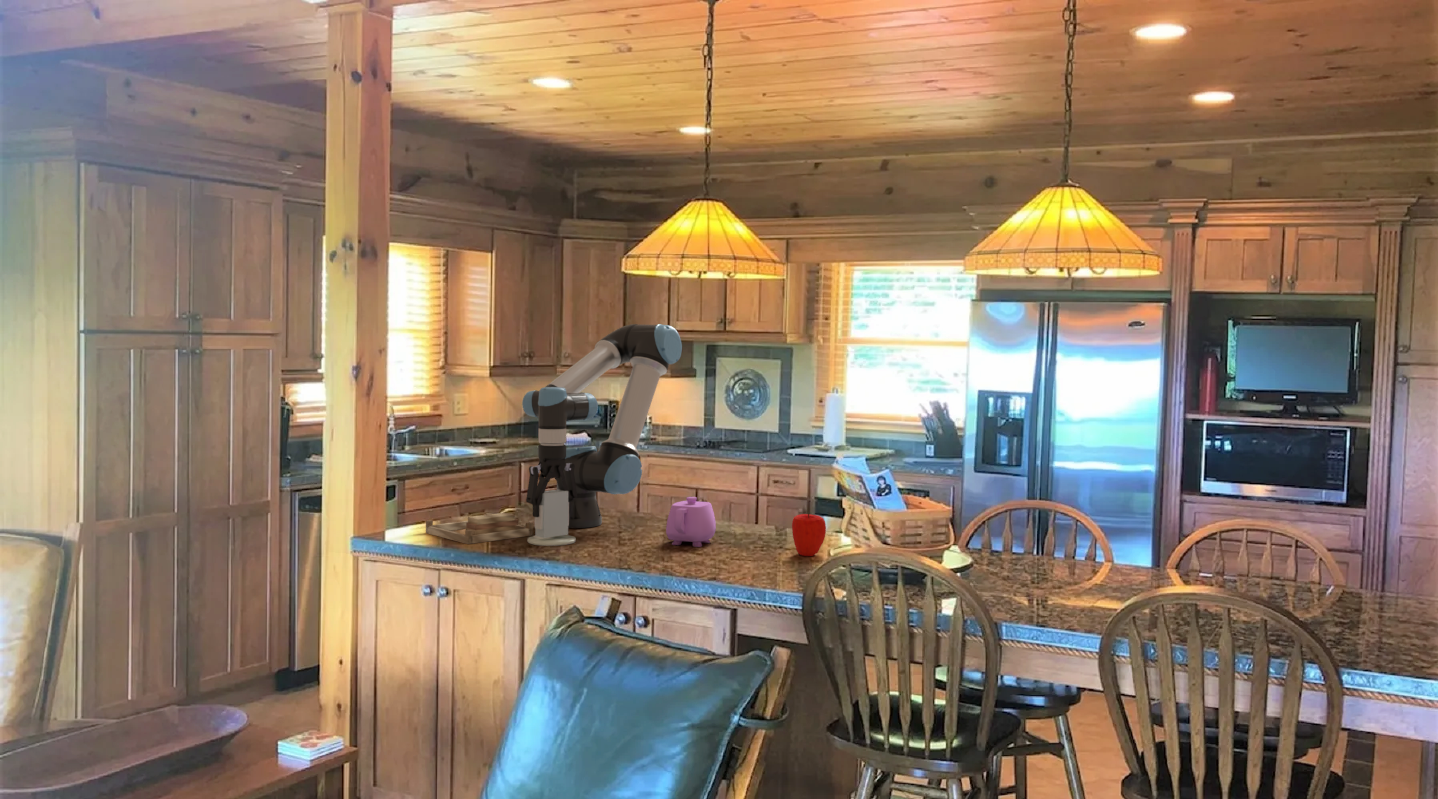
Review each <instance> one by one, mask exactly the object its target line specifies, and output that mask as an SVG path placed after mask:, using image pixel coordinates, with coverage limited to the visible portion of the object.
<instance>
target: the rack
mask: <svg viewBox="0 0 1438 799" xmlns="http://www.w3.org/2000/svg"><path fill="white" fill-rule="evenodd" d="M489 514H492V513H490V512H487V513H485V514H484V515H489ZM466 523H468V520H464V521H456V522H447V523H438V524H434V520H429V519H428V520H425V534H429V535H433V536H435V537H436V536H437V537H439V538H443V539H447V540H451V541H456V542H459V543H462V544H467V545H472V544H479V543H484V542H485V543H487V542H493V541H501V540H508V539H516V538H522V537H523V538H524V537H531V536H534V523H533V522H525V526H524V525H520V524H518V525H516V530H510V531H502V532H494V533H487V534H479V535H472V530H466ZM457 530H464V534H463V533H460V532H456V531H457Z"/></svg>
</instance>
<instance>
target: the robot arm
mask: <svg viewBox="0 0 1438 799" xmlns="http://www.w3.org/2000/svg"><path fill="white" fill-rule="evenodd" d="M682 350H683V344H682V340H681V336H680V333H679V332H678V331H677V329H676V328H674V327H673V326H671V325H669V324H661V323H658V324H636V323H633V324H632V323H631V324H627V325H624V326H621V327H619V328H617V329H615V330H613V331H612V332H609V333H608V334H607V335H605V336H604V337H602V338H601V339H600V340H599V341H597V342H596V343H595V345H594V349H592V350H591V351H590V352H589V353H587V354H585V355H584V356H583V357H582V358H581V359H579V360H578V361H577V362H576V363H574V364H573V365H571V366H570V367H569V368H568V369H566V370H565V371H564V372H562V373H561V374H560V375H559V376H557V377H555V379H553V380H552V381H551V382H550V383H548V384H547V385H545V387H541V388H540V389H539V390H535V389H534V390H529V391H528V392H526V393H525V394H524V396H523V398H522V402H521V403H522V404H521V407H522V408H523V412H524V414H526V415H527V416H529V417H533V418H538V443H539V445H538V448H537V450H538V451H537V455H538V456H537V457H538V460H539V461H538V464H537V465H535V466H531V465H530V466H529V467H528V472H529V477H528V485H527V493H526V499H525V501H526V503H527V504H530V505H532V517H534V529H535V530H536V529H540V530H541V529H543V505H540V503H541V501H542V498H543V493H544V492H545V491H546V489H547V486H548V483H549V482H550V481H551V479H554V480H555V481H556V490H563V491H568V529H581V528H583V529H585V528H593V527H598V526H601V525H602V522H603V521H602V520H603V518H602V517H603V516H602V514H601V510H600V507H599V503H598V500H597V492H598V493H606V494H611V495H627V494H629V493H631V492H632V491H633V490H635V488H637V486H638V485H639V483H640V481H641V478H642V475H643V473H642V472H643V469H642V464H643V463H642V462H641V460H640V458H639V457H640V453H639V450H638V449H637V447H638V444H639V441H640V438H641V435H642V433H643V429H644V426H645V423H646V420H647V417H648V414H649V411H650V408H651V404H652V401H653V398H654V396H655V392H656V390H657V387H658V384H659V380H660V377H662V376H664V375H666V374H667V373H668V370H669V366H670V365H674V364H675V363H677V362H679V360H680V359H681V356H682ZM626 363H630V364H631V366H632V369H631V373H630V375H629V376H628V377H629V378H628V380H627V383H626V387H625V390H624V393H623V394H622V395H623V396H622V398H621V401H620V404H619V408H618V409H617V413H616V415H615V419H614V420H613V421H614V422H613V425H612V428H611V431H610V433H609V436H608V439H606V440H604V441H602V442H601V444H600V447H599V449H597V447H596V446H595V445H589V446H578V447H567V445H566V444H565V443H567V422H569V421H585V420H590V419H592V418H594V417H595V416H596V414H597V413H598V410H599V409H598V408H599V407H598V401H597V398H596V397H595V396H594V394H592V393H590V392H582V391H584V390H585V389H586V388H587V387H588V386H589V385H591V384H592V383H594V382H595V381H596V380H597V379H598V378H600V377H601V376H603V374H605V373H606V372H607V371H609V370H610V369H616V368H618V367H620V365H623V364H626Z"/></svg>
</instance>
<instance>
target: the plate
mask: <svg viewBox="0 0 1438 799" xmlns="http://www.w3.org/2000/svg"><path fill="white" fill-rule="evenodd" d="M576 538H577V537H575V536H573V535H569V534H568V535H561V536H554V537H547V538H542V537H538V536H535V535H531V536H528V537H527V543H528V544H530V545H535V546H542V547H546V546H547V547H554V546H555V547H556V546H566V545H573V544H574V543H575V542H576Z"/></svg>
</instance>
